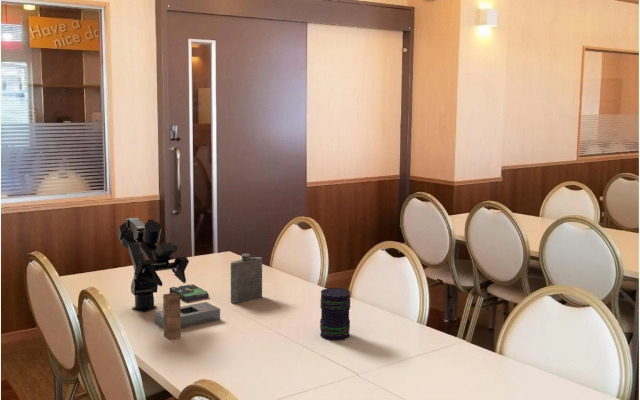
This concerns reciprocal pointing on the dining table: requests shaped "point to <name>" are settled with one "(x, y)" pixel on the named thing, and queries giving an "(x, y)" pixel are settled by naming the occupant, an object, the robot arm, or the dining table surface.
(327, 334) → the storage jar
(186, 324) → the rail block
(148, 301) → the robot arm
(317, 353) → the dining table surface
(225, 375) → the dining table surface
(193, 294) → the disk drive
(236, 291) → the flask
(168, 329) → the walnut peg
